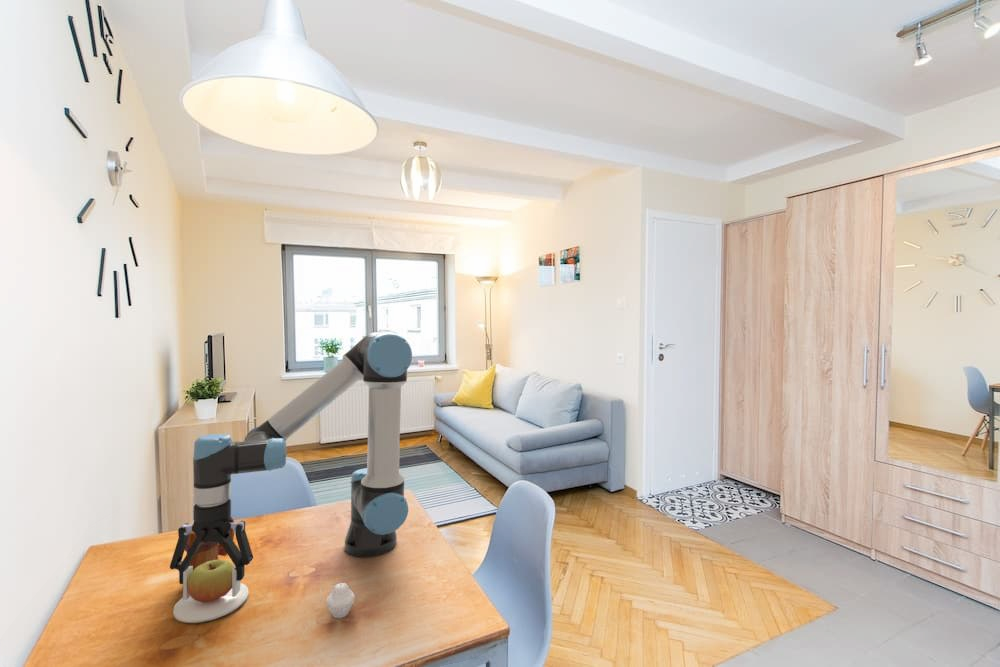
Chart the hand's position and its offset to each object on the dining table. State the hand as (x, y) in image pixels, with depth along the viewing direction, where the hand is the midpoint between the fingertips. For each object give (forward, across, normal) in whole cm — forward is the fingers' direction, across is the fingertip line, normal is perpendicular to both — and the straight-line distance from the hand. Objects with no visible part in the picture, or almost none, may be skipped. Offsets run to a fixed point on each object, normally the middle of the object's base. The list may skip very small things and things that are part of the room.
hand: (212, 594), depth 108 cm
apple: (0, 0, 0) cm, 1 cm away
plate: (+2, 0, 0) cm, 2 cm away
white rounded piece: (+3, -31, +7) cm, 32 cm away
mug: (+3, +6, -13) cm, 14 cm away
